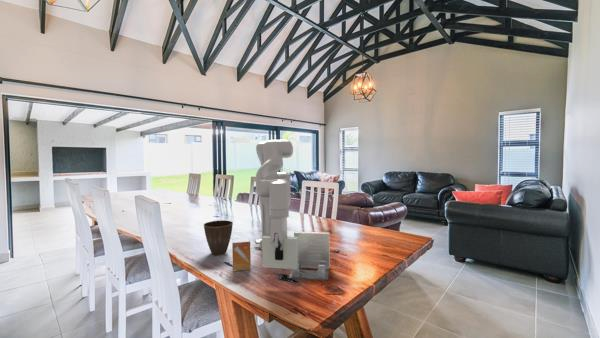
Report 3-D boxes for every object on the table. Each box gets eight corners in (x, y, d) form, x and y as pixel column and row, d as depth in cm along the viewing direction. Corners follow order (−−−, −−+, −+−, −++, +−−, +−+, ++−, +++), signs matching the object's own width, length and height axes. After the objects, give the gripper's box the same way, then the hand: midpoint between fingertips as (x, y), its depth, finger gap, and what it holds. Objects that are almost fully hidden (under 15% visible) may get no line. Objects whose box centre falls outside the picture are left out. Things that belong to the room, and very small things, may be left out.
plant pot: (237, 249, 157) (237, 220, 156) (226, 258, 142) (225, 227, 141) (212, 248, 159) (212, 220, 159) (199, 257, 145) (198, 226, 144)
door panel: (262, 267, 112) (261, 237, 111) (264, 264, 115) (263, 235, 114) (296, 269, 110) (296, 239, 109) (298, 266, 112) (297, 237, 111)
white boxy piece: (289, 278, 117) (288, 240, 117) (295, 265, 131) (294, 231, 130) (327, 280, 114) (326, 241, 114) (329, 267, 128) (329, 232, 128)
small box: (232, 271, 125) (231, 242, 125) (232, 266, 132) (232, 238, 131) (251, 269, 127) (250, 241, 127) (250, 264, 133) (249, 237, 133)
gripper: (275, 208, 119) (276, 250, 120) (264, 217, 103) (265, 265, 105) (292, 208, 118) (293, 251, 119) (283, 217, 102) (284, 267, 103)
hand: (280, 257), depth 112 cm, fingers closed on door panel, 2 cm apart
